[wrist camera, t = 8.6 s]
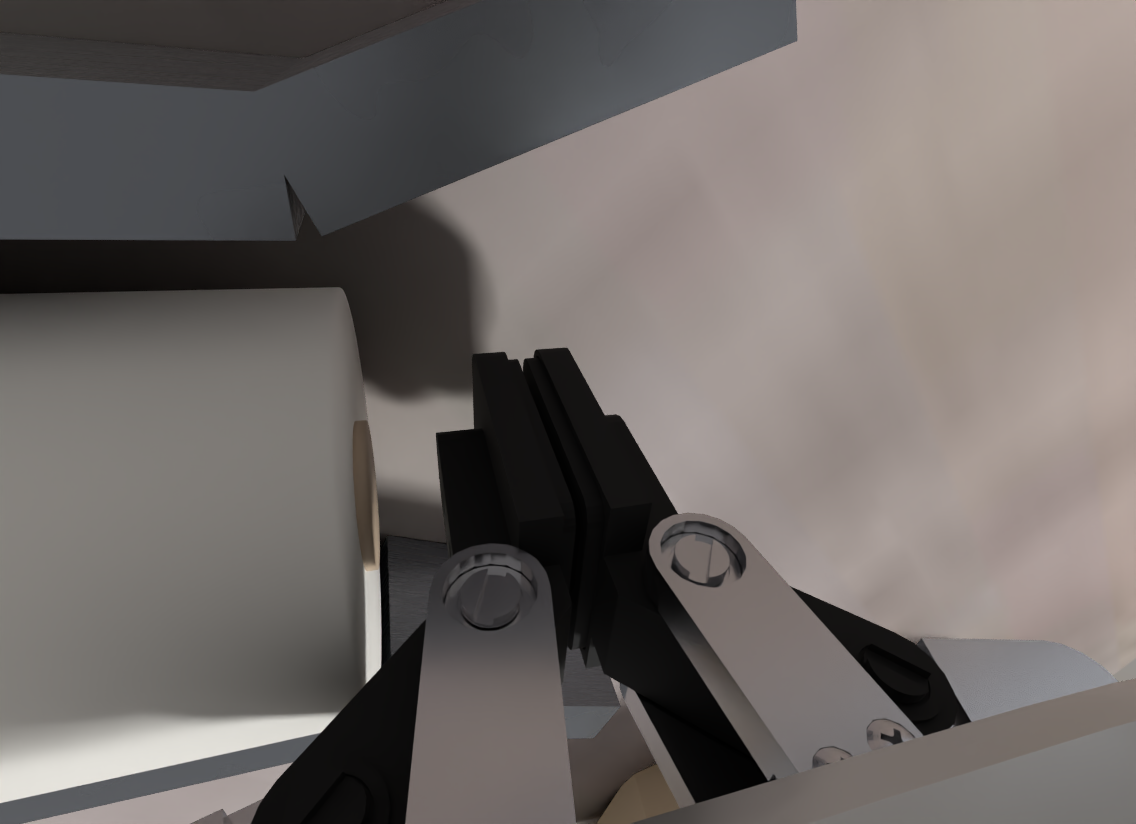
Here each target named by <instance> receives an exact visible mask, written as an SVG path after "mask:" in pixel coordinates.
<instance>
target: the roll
mask: <svg viewBox="0 0 1136 824" xmlns="http://www.w3.org/2000/svg"><path fill="white" fill-rule="evenodd" d="M379 562H380V535H379V514H378V499H377V486H376V475H375V465H374V457H373V449H372V441H371V435H370V430H369V425H368V416H367V408H366V399H365V392H364V384H363V377H362V370H361V363H360V357H359V351H358V345H357V339H356V334H355V329H354V324H353V319H352V315H351V311H350V307H349V304H348V300H347V298H346V295H345V293H344V291H343V289H342V288H340V287H325V288H276V289H226V290H177V291H127V292H78V293H28V294H0V803H3V802H8V801H12V800H17V799H21V798H26V797H30V796H35V795H40V794H44V793H49V792H53V791H58V790H62V789H67V788H71V787H76V786H81V785H85V784H90V783H94V782H99V781H103V780H108V779H112V778H117V777H122V776H126V775H131V774H135V773H140V772H144V771H149V770H153V769H158V768H163V767H167V766H172V765H176V764H181V763H185V762H190V761H194V760H199V759H203V758H208V757H213V756H217V755H222V754H226V753H231V752H235V751H240V750H244V749H249V748H254V747H258V746H263V745H267V744H272V743H276V742H281V741H285V740H290V739H295V738H299V737H304V736H308V735H313V734H317V733H321V732H322V731H323V730H324V729H325V728H326V727H327V726H328V724H329V723H330V722H331V721H332V720H333V719H334V718H335V717H336V716H337V715H338V714H339V713H340V711H341V710H342V709H343V708H344V707H345V706H346V705H347V704H348V703H349V702H350V701H351V700H352V698H353V697H354V696H355V695H356V694H357V693H358V692H359V691H360V690H361V689H362V688H363V687H364V685H365V684H366V683H367V682H368V681H369V680H370V679H371V678H372V677H373V676H374V675H375V674H376V672H377V671H378V670H379V669H380V668H381V592H380V567H379Z"/></svg>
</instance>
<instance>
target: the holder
mask: <svg viewBox="0 0 1136 824" xmlns="http://www.w3.org/2000/svg"><path fill="white" fill-rule="evenodd" d="M795 41H797V19H796V0H448V1H445V2H443V3H440V4H438V5H435V6H433V7H430V8H428V9H425V10H423V11H420V12H418V13H415V14H413V15H410V16H408V17H405V18H403V19H400V20H398V21H395V22H393V23H390V24H388V25H385V26H383V27H380V28H378V29H375V30H373V31H370V32H368V33H365V34H363V35H360V36H358V37H355V38H353V39H350V40H348V41H345V42H343V43H340V44H338V45H335V46H333V47H330V48H328V49H325V50H323V51H320V52H318V53H315V54H313V55H310V56H308V57H305V58H294V57H283V56H271V55H259V54H248V53H236V52H224V51H212V50H201V49H189V48H177V47H165V46H154V45H142V44H130V43H119V42H107V41H95V40H83V39H72V38H60V37H48V36H37V35H25V34H13V33H1V32H0V239H29V240H262V241H296V238H297V235H298V232H299V230H300V227H301V224H302V221H303V218H304V215H305V212H306V211H307V213H308V215H309V216H310V218H311V219H312V221H313V223H314V224H315V226H316V228H317V229H318V231H319V233H320V234H321V236H324V235H327V234H329V233H331V232H334V231H336V230H339V229H341V228H344V227H346V226H348V225H351V224H353V223H356V222H358V221H361V220H363V219H365V218H368V217H370V216H373V215H375V214H378V213H380V212H382V211H385V210H387V209H390V208H392V207H395V206H397V205H399V204H402V203H404V202H407V201H409V200H412V199H414V198H416V197H419V196H421V195H424V194H426V193H429V192H431V191H433V190H436V189H438V188H441V187H443V186H446V185H448V184H450V183H453V182H455V181H458V180H460V179H463V178H465V177H467V176H470V175H472V174H475V173H477V172H480V171H482V170H484V169H487V168H489V167H492V166H494V165H497V164H499V163H501V162H504V161H506V160H509V159H511V158H514V157H516V156H518V155H521V154H523V153H526V152H528V151H531V150H533V149H535V148H538V147H540V146H543V145H545V144H548V143H550V142H552V141H555V140H557V139H560V138H562V137H565V136H567V135H570V134H572V133H574V132H577V131H579V130H582V129H584V128H587V127H589V126H591V125H594V124H596V123H599V122H601V121H604V120H606V119H608V118H611V117H613V116H616V115H618V114H621V113H623V112H625V111H628V110H630V109H633V108H635V107H638V106H640V105H642V104H645V103H647V102H650V101H652V100H655V99H657V98H659V97H662V96H664V95H667V94H669V93H672V92H674V91H676V90H679V89H681V88H684V87H686V86H689V85H691V84H693V83H696V82H698V81H701V80H703V79H706V78H708V77H710V76H713V75H715V74H718V73H720V72H723V71H725V70H727V69H730V68H732V67H735V66H737V65H740V64H742V63H744V62H747V61H749V60H752V59H754V58H757V57H759V56H761V55H764V54H766V53H769V52H771V51H774V50H776V49H778V48H781V47H783V46H786V45H788V44H791V43H793V42H795ZM448 559H449V557H448V549H447V544H441V543H435V542H428V541H421V540H415V539H408V538H401V537H395V536H387V538H386V540H385V542H384V545H383V547H382V549H381V551H380V562H379V567H380V592H381V667H382V666H383V665H384V664H385V663H386V662H387V661H388V660H389V658H390V657H391V656H392V655H393V654H394V653H395V652H396V651H397V650H398V649H399V648H400V647H401V645H402V644H403V643H404V642H405V641H406V640H407V639H408V638H409V637H410V636H411V635H412V634H413V632H414V631H415V630H416V629H417V628H418V627H419V626H420V625H421V624H422V623H423V622H424V621H425V619H426V617H427V607H428V597H429V591H430V587H431V584H432V580H433V577H434V575H435V574H436V573H437V571H438V570H439V569H440V567H441V566H442V564H443V563H444V562H446V561H447V560H448ZM561 688H562V697H563V706H564V715H565V725H566V734H567V739H576V738H594V737H595V736H596V735H597V734H598V732H599V731H600V730H601V729H602V728H603V727H604V725H605V724H606V723H607V722H608V721H609V720H610V718H611V717H612V716H613V715H614V714H615V713H616V711H617V710H618V709H619V708H620V707H621V706H620V704H619V701H618V698H617V695H616V692H615V689H614V687H613V684H612V681H611V678H610V677H609V676H608V675H606V674H604V673H603V670H602V667H601V666H596V667H592V668H587V669H586V667H585V664H584V661H583V658H582V654H581V651H580V648H579V649H574V650H570V649H569V648H568V646H567V653H566V661H565V670H564V678H563V683H562V685H561ZM319 734H320V733H317V734H313V735H308V736H304V737H299V738H295V739H290V740H285V741H281V742H276V743H272V744H267V745H263V746H258V747H254V748H249V749H244V750H240V751H235V752H231V753H226V754H222V755H217V756H213V757H208V758H203V759H199V760H194V761H190V762H185V763H181V764H176V765H172V766H167V767H163V768H158V769H153V770H149V771H144V772H140V773H135V774H131V775H126V776H122V777H117V778H112V779H108V780H103V781H99V782H94V783H90V784H85V785H81V786H76V787H71V788H67V789H62V790H58V791H53V792H49V793H44V794H40V795H35V796H30V797H26V798H21V799H17V800H12V801H8V802H3V803H0V824H22V823H27V822H31V821H35V820H40V819H44V818H49V817H53V816H57V815H62V814H66V813H71V812H75V811H80V810H84V809H88V808H93V807H97V806H102V805H106V804H110V803H115V802H119V801H124V800H128V799H133V798H137V797H141V796H146V795H150V794H155V793H159V792H164V791H168V790H172V789H177V788H181V787H186V786H190V785H194V784H199V783H203V782H208V781H212V780H217V779H221V778H225V777H230V776H234V775H239V774H243V773H247V772H252V771H256V770H261V769H265V768H270V767H274V766H278V765H283V764H287V763H292V762H294V761H295V760H296V759H297V758H298V757H299V756H300V755H301V754H302V753H303V752H304V750H305V749H306V748H307V747H308V746H309V745H310V744H311V743H312V742H313V741H314V740H315V739H316V737H317V736H318V735H319Z"/></svg>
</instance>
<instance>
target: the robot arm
mask: <svg viewBox="0 0 1136 824" xmlns="http://www.w3.org/2000/svg"><path fill="white" fill-rule="evenodd" d="M472 376H473V408H474V429H470V430H460V431H450V432H440V433H436V443H437V456H438V468H439V479H440V489H441V499H442V508H443V517H444V525H445V533H446V541H447V549H448V557H449V559H448V560H447V561H446V562H444V563H443V564H442V566H441V567H440V569H439V570H438V571H437V573H436V574H435V575H434V577H433V580H432V584H431V587H430V591H429V597H428V607H427V617H426V619H425V621H424V622H423V623H422V624H421V625H420V626H419V627H418V628H417V629H416V630H415V631H414V632H413V634H412V635H411V636H410V637H409V638H408V639H407V640H406V641H405V642H404V643H403V644H402V645H401V647H400V648H399V649H398V650H397V651H396V652H395V653H394V654H393V655H392V656H391V657H390V658H389V660H388V661H387V662H386V663H385V664H384V665H383V666H382V667H381V668H380V669H379V670H378V671H377V672H376V674H375V675H374V676H373V677H372V678H371V679H370V680H369V681H368V682H367V683H366V684H365V685H364V687H363V688H362V689H361V690H360V691H359V692H358V693H357V694H356V695H355V696H354V697H353V698H352V700H351V701H350V702H349V703H348V704H347V705H346V706H345V707H344V708H343V709H342V710H341V711H340V713H339V714H338V715H337V716H336V717H335V718H334V719H333V720H332V721H331V722H330V723H329V724H328V726H327V727H326V728H325V729H324V730H323V731H322V732H321V733H320V734H319V735H318V736H317V737H316V739H315V740H314V741H313V742H312V743H311V744H310V745H309V746H308V747H307V748H306V749H305V750H304V752H303V753H302V754H301V755H300V756H299V757H298V758H297V759H296V760H295V761H294V762H293V763H292V765H291V766H290V767H289V768H288V769H287V770H286V771H285V772H284V773H283V774H282V775H281V776H280V777H279V779H278V780H277V781H276V782H275V784H274V785H273V786H272V788H271V789H270V790H269V792H268V793H267V794H266V796H265V797H264V798H263V799H261V800H259V801H257V802H255V803H253V804H251V805H249V806H247V807H245V808H242V809H240V810H238V811H236V812H234V813H232V814H230V815H228V816H227V815H226V813H225V812H224V810H223V809H221V810H219V811H216V812H214V813H212V814H210V815H208V816H206V817H204V818H201V819H199V820H197V821H195V822H193V823H191V824H576V818H575V808H574V799H573V790H572V780H571V771H570V762H569V753H568V743H567V734H566V725H565V715H564V706H563V697H562V688H561V685H562V683H563V678H564V670H565V661H566V653H567V646H568V648H569V649H570V650H574V649H579V648H580V651H581V654H582V658H583V661H584V664H585V667H586V669H587V668H592V667H596V666H601V667H602V670H603V673H604V674H606V675H608V676H609V677H611V678H613V679H615V680H616V681H618V682H620V690H621V693H622V696H623V698H624V701H625V703H626V705H627V707H628V709H629V711H630V713H631V715H632V717H633V719H634V721H635V723H636V724H637V726H638V728H639V730H640V732H641V734H642V736H643V738H644V740H645V742H646V744H647V746H648V748H649V750H650V752H651V753H652V755H653V757H654V759H655V761H656V763H657V765H658V767H659V769H660V771H661V773H662V775H663V777H664V779H665V781H666V782H667V784H668V786H669V788H670V790H671V792H672V794H673V796H674V798H675V800H676V802H677V804H678V806H679V808H680V809H677V810H673V811H670V812H667V813H663V814H660V815H657V816H653V817H650V818H647V819H643V820H640V821H637V822H633V823H630V824H1136V679H1131V680H1126V681H1121V682H1118V681H1117V680H1116V679H1115V678H1114V677H1113V676H1112V675H1111V674H1110V673H1109V672H1108V671H1107V670H1106V669H1105V668H1104V667H1103V666H1101V665H1100V664H1098V663H1097V662H1095V661H1094V660H1092V659H1091V658H1089V657H1088V656H1086V655H1085V654H1083V653H1082V652H1079V651H1077V650H1075V649H1073V648H1070V647H1068V646H1066V645H1063V644H1060V643H1055V642H1049V641H1044V640H997V639H948V638H921V640H920V641H919V642H918V644H917V645H915V644H914V643H912V642H911V641H909V640H907V639H905V638H904V637H902V636H900V635H898V634H896V633H894V632H892V631H890V630H888V629H885V628H883V627H881V626H879V625H876V624H874V623H872V622H870V621H867V620H865V619H863V618H861V617H858V616H856V615H854V614H851V613H849V612H847V611H845V610H842V609H840V608H838V607H836V606H833V605H831V604H829V603H827V602H824V601H822V600H820V599H818V598H815V597H813V596H811V595H809V594H806V593H804V592H802V591H800V590H797V589H795V588H793V587H791V586H789V585H788V584H787V583H786V581H785V580H784V579H783V578H782V577H781V576H780V575H779V574H778V572H777V571H776V570H775V569H774V568H773V567H772V566H771V565H770V564H769V562H768V561H767V560H766V559H765V558H764V557H763V556H762V555H761V553H760V552H759V551H758V550H757V549H756V548H755V547H754V546H753V545H752V543H751V542H750V541H749V540H748V539H747V538H746V537H745V536H744V535H743V534H742V533H740V532H739V531H738V530H737V529H736V528H735V527H733V526H731V525H730V524H728V523H726V522H724V521H722V520H720V519H718V518H715V517H711V516H708V515H705V514H696V513H683V514H678V513H677V511H676V510H675V508H674V506H673V504H672V503H671V501H670V499H669V498H668V496H667V494H666V492H665V491H664V489H663V487H662V486H661V484H660V482H659V480H658V479H657V477H656V475H655V474H654V472H653V470H652V468H651V467H650V465H649V463H648V462H647V460H646V458H645V456H644V455H643V453H642V451H641V450H640V448H639V446H638V444H637V443H636V441H635V439H634V438H633V436H632V434H631V432H630V431H629V429H628V427H627V426H626V424H625V422H624V421H623V419H622V418H621V417H620V416H618V415H616V414H615V415H606V416H605V415H604V413H603V411H602V410H601V408H600V406H599V404H598V402H597V400H596V399H595V397H594V395H593V393H592V391H591V389H590V388H589V386H588V384H587V382H586V380H585V378H584V377H583V375H582V373H581V371H580V369H579V367H578V366H577V364H576V362H575V360H574V358H573V356H572V355H571V353H570V351H569V350H568V348H553V349H539V350H536V351H535V353H534V358H527V359H525V360H524V363H523V371H522V368H521V366H520V363H519V361H518V360H517V359H514V360H508V358H507V355H506V353H505V352H496V353H482V354H473V356H472Z"/></svg>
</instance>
